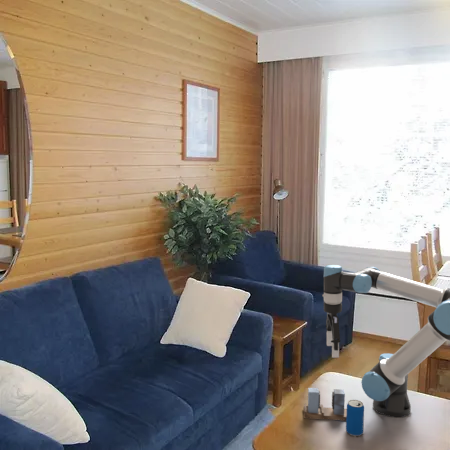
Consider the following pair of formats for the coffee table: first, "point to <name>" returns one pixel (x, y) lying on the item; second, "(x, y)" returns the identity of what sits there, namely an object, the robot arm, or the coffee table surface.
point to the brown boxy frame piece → (330, 413)
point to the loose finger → (313, 400)
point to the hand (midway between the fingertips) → (332, 351)
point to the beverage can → (355, 417)
